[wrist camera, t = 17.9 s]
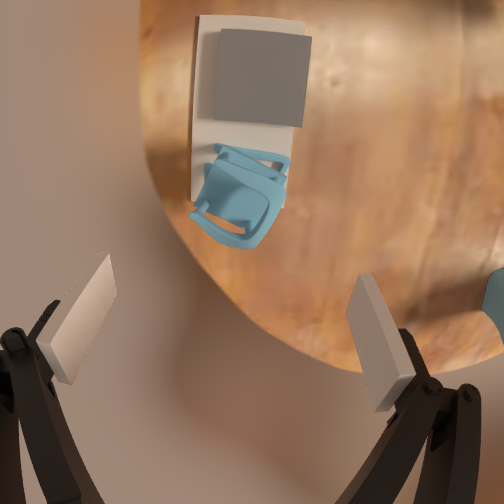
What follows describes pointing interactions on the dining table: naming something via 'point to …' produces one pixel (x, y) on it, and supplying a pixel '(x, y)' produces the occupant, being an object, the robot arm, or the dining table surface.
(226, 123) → the mat
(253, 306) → the dining table surface
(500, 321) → the blue wavy holder
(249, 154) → the chair
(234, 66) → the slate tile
